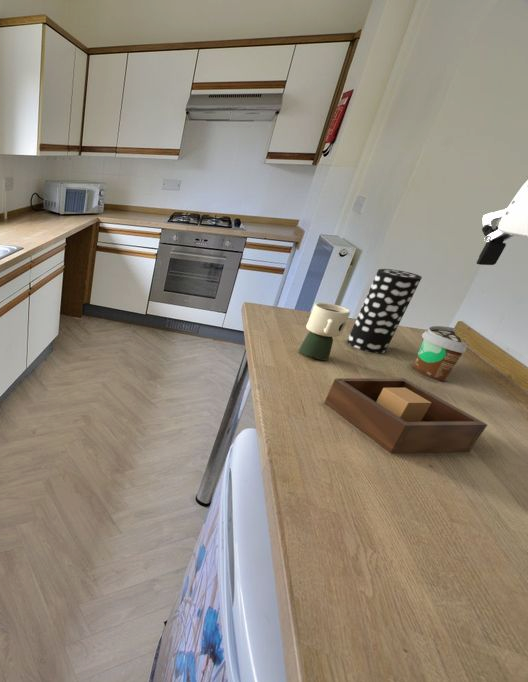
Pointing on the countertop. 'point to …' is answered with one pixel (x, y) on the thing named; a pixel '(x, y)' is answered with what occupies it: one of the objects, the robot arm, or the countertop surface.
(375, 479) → the countertop surface
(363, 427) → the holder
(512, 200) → the robot arm
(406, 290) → the white-spotted black cylinder
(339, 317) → the character mug
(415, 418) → the box
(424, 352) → the food container
